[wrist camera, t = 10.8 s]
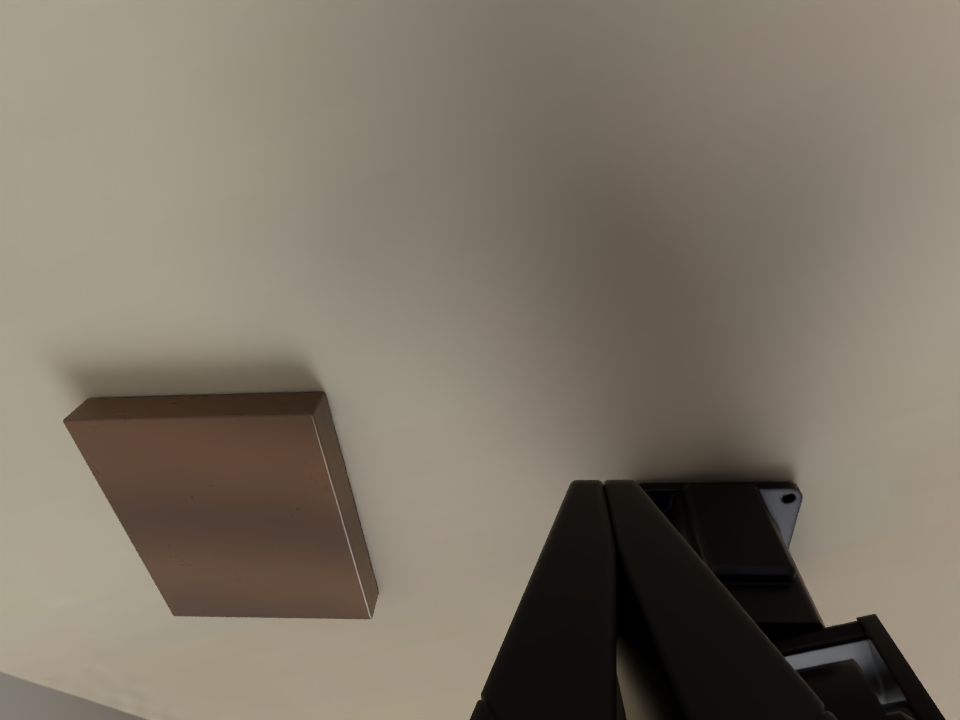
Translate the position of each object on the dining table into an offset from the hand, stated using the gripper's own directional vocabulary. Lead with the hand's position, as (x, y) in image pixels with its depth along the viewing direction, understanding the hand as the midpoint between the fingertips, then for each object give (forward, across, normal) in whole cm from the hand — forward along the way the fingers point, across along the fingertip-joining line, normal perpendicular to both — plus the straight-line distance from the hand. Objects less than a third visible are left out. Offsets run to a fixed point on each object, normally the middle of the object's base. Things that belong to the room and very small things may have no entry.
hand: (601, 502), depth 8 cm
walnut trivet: (+12, +14, +12) cm, 22 cm away
